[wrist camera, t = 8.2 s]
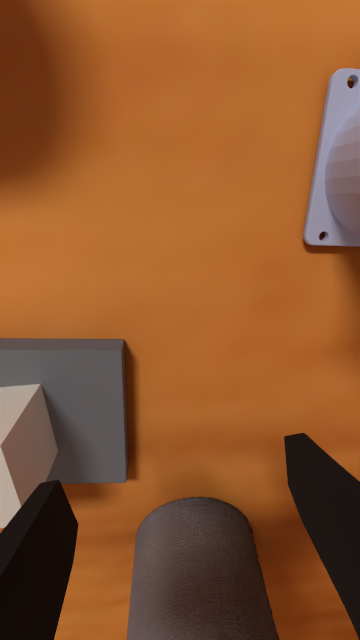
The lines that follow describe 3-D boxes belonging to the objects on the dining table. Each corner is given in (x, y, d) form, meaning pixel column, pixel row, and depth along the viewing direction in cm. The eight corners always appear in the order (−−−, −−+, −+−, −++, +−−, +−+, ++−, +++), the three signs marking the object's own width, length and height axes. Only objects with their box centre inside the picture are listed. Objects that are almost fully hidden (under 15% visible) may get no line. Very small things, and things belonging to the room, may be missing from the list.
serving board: (124, 339, 20) (121, 350, 18) (128, 465, 23) (126, 482, 22) (-117, 337, 19) (-140, 348, 17) (-74, 468, 22) (-90, 486, 21)
